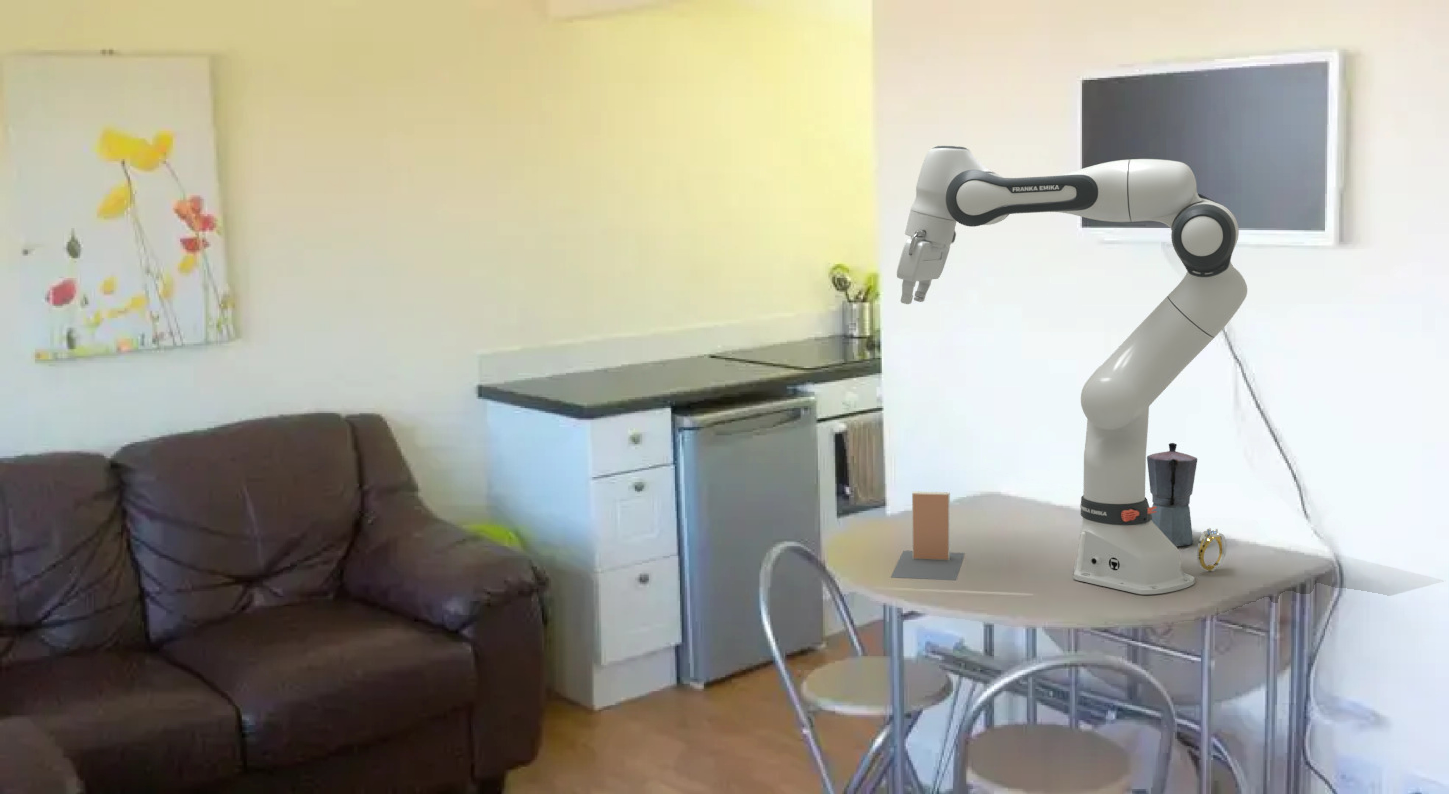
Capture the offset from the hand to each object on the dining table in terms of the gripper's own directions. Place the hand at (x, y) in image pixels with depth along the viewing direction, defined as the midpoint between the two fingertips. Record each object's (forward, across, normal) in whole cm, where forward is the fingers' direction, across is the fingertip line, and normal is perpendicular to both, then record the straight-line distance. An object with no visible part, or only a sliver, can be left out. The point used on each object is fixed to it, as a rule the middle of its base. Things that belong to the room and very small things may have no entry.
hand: (912, 302), depth 289 cm
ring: (+35, +11, -65) cm, 75 cm away
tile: (+47, +2, -15) cm, 50 cm away
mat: (+48, -2, -16) cm, 50 cm away
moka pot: (+36, +29, -56) cm, 72 cm away
